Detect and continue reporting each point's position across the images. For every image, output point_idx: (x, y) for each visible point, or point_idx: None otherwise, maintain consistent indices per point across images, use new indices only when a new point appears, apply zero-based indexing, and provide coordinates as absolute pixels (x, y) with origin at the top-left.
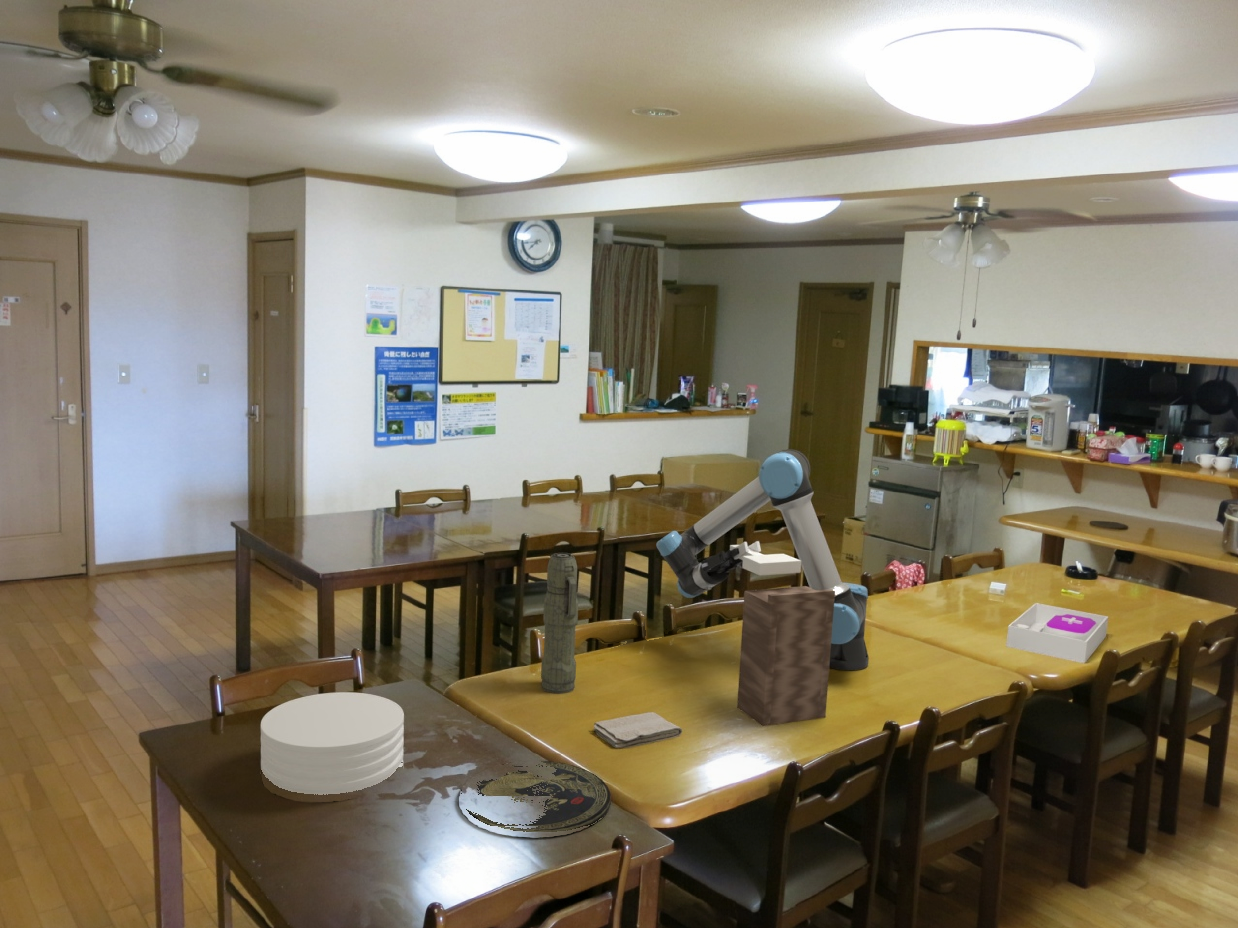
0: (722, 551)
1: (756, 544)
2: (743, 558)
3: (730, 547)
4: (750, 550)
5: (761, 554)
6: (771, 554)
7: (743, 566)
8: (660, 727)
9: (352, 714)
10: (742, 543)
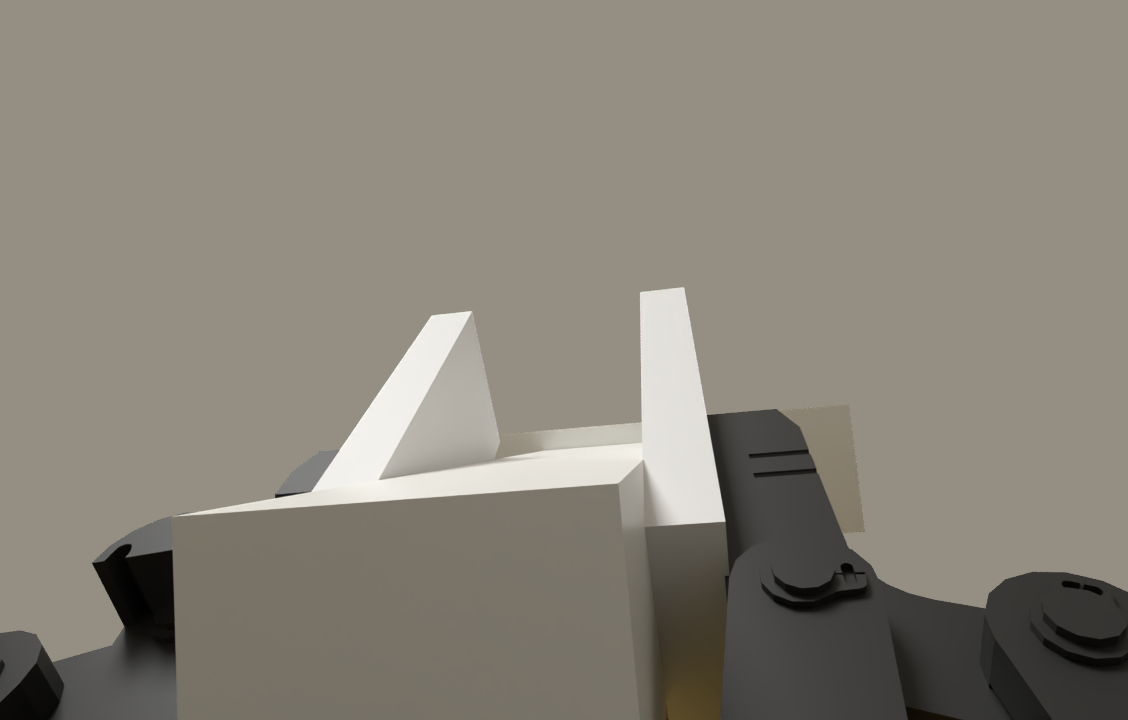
0: (1073, 578)
1: (477, 358)
2: (848, 428)
3: (630, 568)
4: (520, 460)
5: (548, 452)
6: (511, 434)
7: (857, 510)
8: None
9: None
10: (687, 314)
